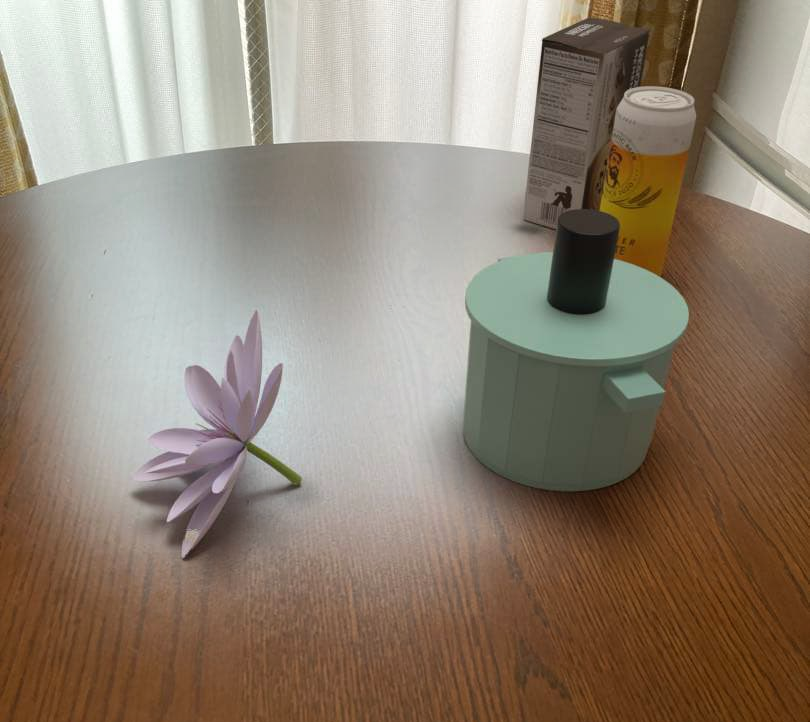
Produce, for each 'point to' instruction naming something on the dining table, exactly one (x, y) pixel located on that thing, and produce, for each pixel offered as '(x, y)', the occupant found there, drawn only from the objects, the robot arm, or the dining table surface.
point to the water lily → (218, 433)
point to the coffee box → (578, 114)
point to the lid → (577, 300)
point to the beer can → (647, 171)
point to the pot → (559, 416)
